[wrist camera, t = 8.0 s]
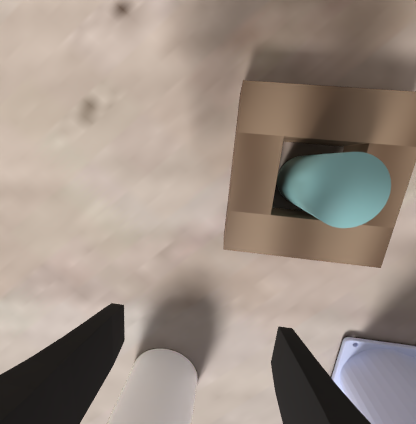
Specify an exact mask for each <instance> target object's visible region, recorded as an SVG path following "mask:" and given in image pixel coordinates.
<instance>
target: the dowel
mask: <svg viewBox="0 0 416 424" xmlns="http://www.w3.org/2000/svg"><path fill="white" fill-rule="evenodd" d="M277 186H278V189H279V192H280V193H281V195H282V196H283V197H284V198H285V199H287V200H288V201H290V202H292V203H293V204H295V205H296V206H298V207H300V208H301V209H303V210H304V211H306V212H308V213H309V214H311V215H313V216H314V217H316V218H317V219H319V220H321V221H322V222H324V223H326V224H327V225H330V226H333V227H337V228H352V227H356V226H359V225H362V224H364V223H366V222H368V221H370V220H371V219H373V218H374V217H375V216H376V215H377V214H378V213H379V212H380V211H381V210H382V209H383V207H384V206H385V204H386V202H387V200H388V198H389V195H390V191H391V178H390V174H389V172H388V169H387V168H386V166H385V165H384V164H383V162H382V161H380V160H379V159H378V158H377V157H375V156H373V155H371V154H368V153H364V152H343V153H331V154H318V155H305V156H298V157H294V158H292V159H290V160H289V161H287V162H286V163H285V164H284V165H283V166H282V168H281V169H280V171H279V174H278V178H277Z"/></svg>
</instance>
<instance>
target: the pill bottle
mask: <svg viewBox="0 0 416 424" xmlns="http://www.w3.org/2000/svg"><path fill="white" fill-rule="evenodd" d="M197 379H198V377H197V372H196V369H195V367H194V366H193V364H192V363H191V362H190V361H189V360H188V359H187V358H186V357H185V356H183V355H182V354H180V353H178V352H176V351H173V350H170V349H163V348H161V349H152V350H148V351H146V352H144V353H142V354H141V355H140V356H139V357H138V358H137V359H136V361H135V363H134V365H133V367H132V369H131V371H130V373H129V376H128V378H127V380H126V382H125V384H124V387H123V389H122V391H121V393H120V395H119V398H118V400H117V402H116V404H115V406H114V408H113V411H112V413H111V415H110V417H109V419H108V422H107V424H192V419H193V411H194V404H195V396H196V388H197Z"/></svg>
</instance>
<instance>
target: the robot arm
mask: <svg viewBox="0 0 416 424" xmlns="http://www.w3.org/2000/svg"><path fill="white" fill-rule="evenodd" d="M123 343H124V305H120V304H113V303H111V304H110V305H108V306H107V307H105V308H104V309H102V310H101V311H100V312H98V313H97V314H95V315H94V316H93V317H91V318H90V319H88V320H87V321H85V322H84V323H83V324H81V325H80V326H78V327H77V328H75V329H74V330H72V331H71V332H69V333H68V334H67V335H65V336H64V337H62V338H60V339H59V340H57V341H56V342H54V343H53V344H51V345H49V346H48V347H46V348H45V349H43V350H42V351H40V352H39V353H37V354H35V355H34V356H32V357H30V358H29V359H27V360H25V361H24V362H22V363H20V364H19V365H17V366H15V367H13V368H12V369H10V370H8V371H6V372H4V373H3V374H1V375H0V424H80V422H81V420H82V419H83V417H84V415H85V413H86V412H87V410H88V408H89V407H90V405H91V403H92V401H93V400H94V398H95V396H96V395H97V393H98V391H99V389H100V388H101V386H102V384H103V382H104V381H105V379H106V377H107V375H108V374H109V372H110V370H111V368H112V367H113V365H114V363H115V360H116V358H117V356H118V354H119V352H120V349H121V347H122V345H123ZM271 366H272V373H273V380H274V387H275V392H276V396H277V401H278V405H279V409H280V413H281V417H282V421H283V424H416V346H410V345H403V344H396V343H389V342H382V341H374V340H367V339H360V338H353V337H346V338H344V339H343V342H342V345H341V348H340V352H339V355H338V358H337V361H336V365H335V368H334V371H333V374H332V378H331V377H330V376H329V375H328V374H327V372H326V371H325V370H324V369H323V367H322V366H321V365H320V364H319V362H318V361H317V360H316V359H315V357H314V356H313V355H312V353H311V352H310V351H309V350H308V348H307V347H306V346H305V344H304V343H303V342H302V340H301V339H300V338H299V336H298V335H297V334H296V333H295V331H294V330H293V329H292V328H286V327H278V331H277V336H276V341H275V346H274V350H273V355H272V360H271Z"/></svg>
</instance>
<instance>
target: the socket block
mask: <svg viewBox="0 0 416 424" xmlns="http://www.w3.org/2000/svg"><path fill="white" fill-rule="evenodd" d="M283 141H285V142H297V143H309V144H321V145H333V146H344V150H343V152H364V153H368V154H371V155H373V156H375V157H377V158H378V159H379V160H380V161H382V162H383V164H384V165H385V166H386V168H387V169H388V172H389V174H390V178H391V191H390V195H389V198H388V200H387V202H386V204H385V206H384V207H383V209H382V210H381V211H380V212H379V213H378V214H377V215H376V216H375V217H374V218H373V219H371V220H370V221H368V222H366V223H364V224H362V225H359V226H356V227H352V228H337V227H333V226H330V225H327V224H326V223H324V222H322V221H321V220H319V219H317V218H316V217H314V216H313V215H311V214H309V213H308V212H306V211H301V210H291V209H282V208H272V204H273V198H274V192H275V186H276V181H277V175H278V169H279V163H280V157H281V151H282V145H283ZM415 162H416V92H413V91H398V90H383V89H367V88H352V87H337V86H322V85H306V84H291V83H276V82H261V81H245V80H243V83H242V88H241V93H240V100H239V108H238V117H237V126H236V135H235V143H234V152H233V161H232V170H231V178H230V187H229V196H228V205H227V213H226V222H225V231H224V250H233V251H241V252H250V253H258V254H267V255H275V256H284V257H292V258H301V259H309V260H318V261H326V262H335V263H343V264H352V265H360V266H369V267H377V268H381V265H382V262H383V259H384V256H385V253H386V250H387V247H388V244H389V241H390V238H391V235H392V232H393V229H394V226H395V223H396V220H397V217H398V214H399V211H400V208H401V205H402V202H403V199H404V196H405V193H406V190H407V187H408V184H409V180H410V177H411V174H412V171H413V168H414V165H415Z"/></svg>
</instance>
